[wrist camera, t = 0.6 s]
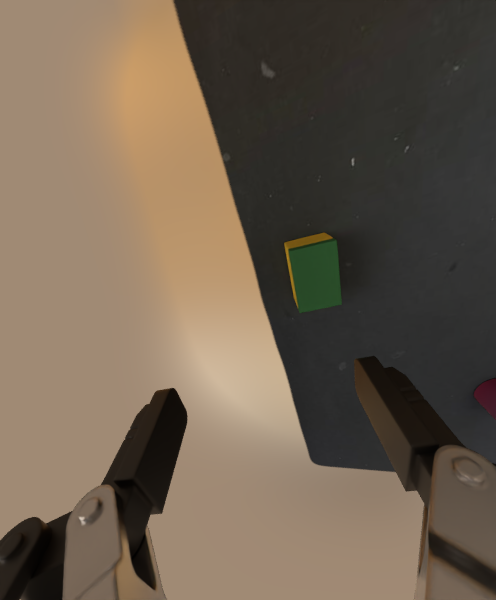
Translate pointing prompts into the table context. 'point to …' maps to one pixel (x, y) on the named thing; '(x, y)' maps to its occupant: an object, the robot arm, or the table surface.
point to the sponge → (314, 272)
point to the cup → (487, 396)
